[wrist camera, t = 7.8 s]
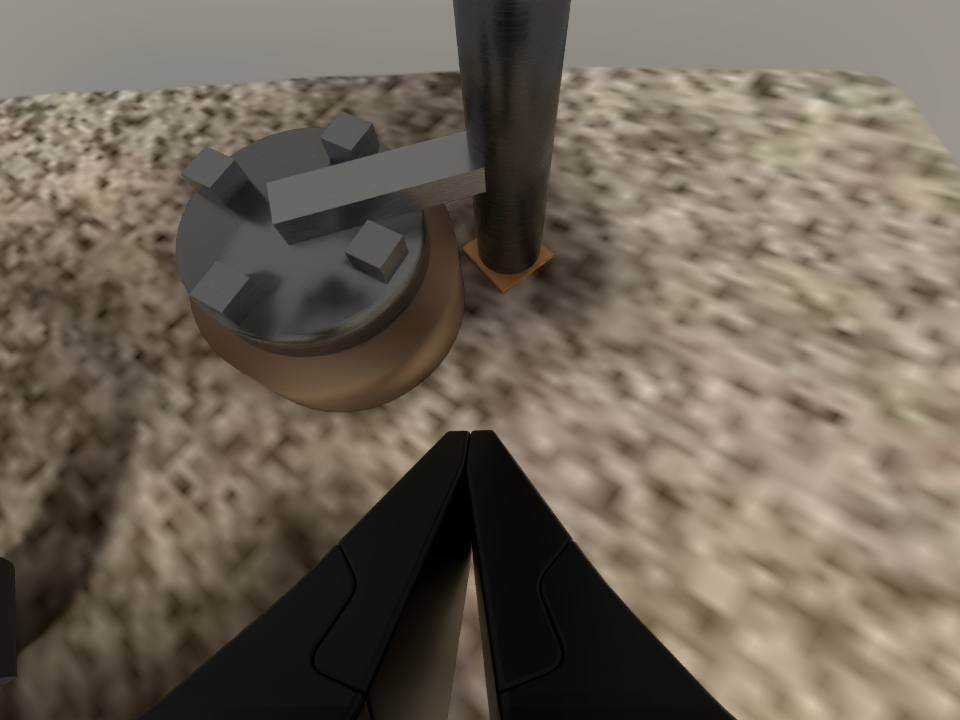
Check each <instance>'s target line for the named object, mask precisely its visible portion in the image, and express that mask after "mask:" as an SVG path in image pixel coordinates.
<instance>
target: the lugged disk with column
mask: <svg viewBox="0 0 960 720" xmlns="http://www.w3.org/2000/svg"><path fill="white" fill-rule="evenodd" d="M570 2H571V0H453V5H454V16H455V25H456V35H457V46H458V56H459V66H460V76H461V86H462V96H463V106H464V116H465V126H466V130H465V131H461V132H457V133H454V134H450V135H446V136H442V137H439V138H435V139H431V140H427V141H423V142H420V143H416V144H412V145H408V146H404V147H401V148H397V149H393V150H391V149H390V148H389V147H387V146H386V145H384V144H383V143H381V142H379V141H378V139H377V136H376V133H375V130H374V127H373V124H372V123H369V122H367V121H364V120H362V119H359V118H357V117H354V116H352V115H349V114H347V113H344V112H342V111H341V112H340V114H339V115H338V116H337V117H336V118H335V120H334V121H333V122H332V123H331V124H330V126H329V127H310V128H300V129H294V130H290V131H285V132H281V133H278V134H274V135H271V136H268V137H266V138H263V139H261V140H259V141H256V142H254V143H252V144H250V145H248V146H246V147H244V148H243V149H241V150H239V151H238V152H236V153H235V154H233V155H232V156H230V157H228V156H226V155H224V154H222V153H219V152H217V151H215V150H213V149H210V148H208V147H205V148H204V149H203V150H202V151H201V152H200V153H199V154H198V155H197V156H196V157H195V159H194V160H193V161H192V162H191V163H190V164H189V165H188V166H187V167H186V168H185V169H184V170H183V171H182V173H181V175H182V176H183V177H184V178H185V179H186V181H187V182H188V183H189V184H190V185H191V186H192V187H193V188H194V189H195V190H196V191H195V193H194V194H193V196H192V197H191V199H190V201H189V202H188V204H187V207H186V209H185V211H184V213H183V215H182V218H181V221H180V225H179V228H178V233H177V239H176V259H177V266H178V270H179V274H180V277H181V280H182V282H183V284H184V286H185V288H186V290H187V292H188V293H189V295H190V296H191V297H192V299H193V300H194V301H195V302H196V304H197V305H198V306H199V307H201V308H202V309H203V310H204V311H205V312H206V313H207V314H208V315H210V316H211V317H212V318H214V319H215V320H217V321H218V322H219V323H221V324H222V325H223V326H225V327H226V328H228V329H229V330H230V331H232V332H233V333H234V334H236V335H237V336H238V337H240V338H241V339H243V340H244V341H246V342H247V343H249V344H251V345H253V346H255V347H257V348H259V349H261V350H264V351H267V352H270V353H274V354H277V355H284V356H290V357H314V356H324V355H328V354H333V353H337V352H341V351H343V350H346V349H349V348H352V347H355V346H357V345H359V344H361V343H363V342H365V341H367V340H369V339H371V338H372V337H374V336H375V335H377V334H379V333H380V332H382V331H383V330H384V329H385V328H387V327H388V326H389V325H390V324H392V323H393V322H394V321H395V320H396V319H397V318H398V317H399V316H400V315H401V314H402V313H403V312H404V311H405V310H406V308H407V307H408V306H409V304H410V303H411V302H412V300H413V299H414V298H415V296H416V294H417V292H418V291H419V289H420V287H421V285H422V283H423V280H424V278H425V275H426V272H427V268H428V264H429V260H430V250H431V243H430V233H429V228H428V223H427V219H426V216H425V212H424V209H425V208H428V207H432V206H436V205H439V204H443V203H447V202H450V201H454V200H458V199H461V198H465V197H469V196H473V206H474V216H475V226H476V236H477V246H478V254H479V257H480V259H481V261H482V262H483V263H484V265H485V266H486V267H488V268H489V269H490V270H492V271H494V272H497V273H500V274H506V275H511V274H517V273H521V272H523V271H525V270H527V269H529V268H530V267H531V266H533V264H534V263H535V262H536V261H537V259H538V257H539V254H540V250H541V242H542V233H543V225H544V217H545V209H546V201H547V192H548V184H549V176H550V168H551V159H552V151H553V143H554V135H555V127H556V118H557V110H558V102H559V94H560V85H561V77H562V69H563V61H564V52H565V44H566V36H567V28H568V19H569V11H570Z"/></svg>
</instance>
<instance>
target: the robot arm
mask: <svg viewBox="0 0 960 720" xmlns="http://www.w3.org/2000/svg"><path fill="white" fill-rule="evenodd" d="M338 545H339V546H338ZM338 545H335V546H334V547H333V548H332V549H331V550H330V551H329V552H328V553H327V554H326V555H325V556H324V557H323V558H322V559H321V560H320V561H319V562H318V563H317V564H316V565H315V566H314V567H313V568H312V569H311V570H310V571H309V572H308V573H307V574H306V575H305V576H304V577H303V578H302V579H301V580H299V581H298V582H297V583H296V584H295V585H294V586H293V587H292V588H291V589H290V590H289V591H288V592H286V593H285V594H284V595H283V596H282V597H281V598H280V599H279V600H277V601H276V602H275V603H274V604H273V605H272V606H271V607H269V608H268V609H267V610H266V611H265V612H264V613H263V614H261V615H260V616H259V617H258V618H257V619H256V620H254V621H253V622H252V623H251V624H250V625H249V626H247V627H246V628H245V629H244V630H243V631H241V632H240V633H239V634H238V635H237V636H236V637H234V638H233V639H232V640H231V641H230V642H228V643H227V644H226V645H225V646H224V647H223V648H221V649H220V650H219V651H218V652H217V653H215V654H214V655H213V656H212V657H211V658H209V659H208V660H207V661H206V662H205V663H204V664H202V665H201V666H200V667H199V668H198V669H196V670H195V671H194V672H193V673H192V674H191V675H189V676H188V677H187V678H186V679H185V680H183V681H182V682H181V683H180V684H179V685H178V686H176V687H175V688H174V689H173V690H172V691H170V692H169V693H168V694H167V695H165V696H164V697H163V698H162V699H160V700H159V701H158V702H157V703H155V704H154V705H153V706H152V707H150V708H149V709H147V710H146V711H144V712H143V713H142V714H140V715H139V716H137V717H136V718H134V719H133V720H447V716H448V709H449V703H450V696H451V690H452V683H453V676H454V670H455V663H456V656H457V650H458V643H459V636H460V630H461V623H462V616H463V610H464V603H465V596H466V590H467V583H468V576H469V570H470V562H471V553H473V566H474V575H475V585H476V594H477V603H478V613H479V622H480V631H481V641H482V650H483V659H484V669H485V678H486V687H487V697H488V706H489V716H490V720H737V719H736V718H735V717H734V716H733V715H731V714H730V713H729V712H728V711H727V710H726V709H725V708H724V707H723V706H722V705H721V704H720V703H719V702H718V701H717V700H716V699H715V698H714V697H713V696H712V695H711V694H710V693H709V692H708V691H707V690H706V689H705V688H704V687H703V686H702V685H701V684H700V683H699V682H698V681H697V680H696V679H695V678H694V676H693V675H692V674H691V673H690V672H689V671H688V670H687V669H686V668H685V667H684V666H683V665H682V664H681V663H680V662H679V661H678V660H677V658H676V657H675V656H674V655H673V654H672V653H671V652H670V651H669V650H668V649H667V648H666V647H665V646H664V645H663V644H662V643H661V642H660V641H659V639H658V638H657V637H656V636H655V635H654V634H653V633H652V632H651V631H650V630H649V629H648V628H647V627H646V626H645V625H644V624H643V623H642V621H641V620H640V619H639V618H638V617H637V616H636V615H635V614H634V613H633V612H632V611H631V610H630V609H629V607H628V606H627V605H626V604H625V603H624V602H623V601H622V600H621V599H620V597H619V596H618V595H617V594H616V593H615V592H614V591H613V590H612V589H611V587H610V586H609V585H608V584H607V583H606V581H605V580H604V579H603V578H602V576H601V575H600V574H599V573H598V571H597V570H596V569H595V568H594V566H593V565H592V564H591V563H590V561H589V560H588V559H587V557H586V556H585V555H584V553H583V552H582V550H581V549H580V548H579V546H578V545H577V544H576V542H574V541H573V539H572V537H571V536H570V534H569V533H568V532H567V530H566V529H565V528H564V526H563V525H562V524H561V522H560V521H559V519H558V518H557V517H556V515H555V514H554V513H553V511H552V510H551V509H550V507H549V506H548V504H547V503H546V502H545V500H544V499H543V498H542V496H541V495H540V494H539V492H538V491H537V489H536V488H535V487H534V485H533V484H532V483H531V481H530V480H529V479H528V477H527V476H526V474H525V473H524V472H523V470H522V469H521V468H520V466H519V465H518V464H517V462H516V461H515V459H514V458H513V457H512V455H511V454H510V453H509V451H508V450H507V449H506V447H505V446H504V445H503V443H502V442H501V440H500V439H499V438H498V436H497V435H496V434H495V432H494V431H492V430H475V431H472V432H471V434H470V432H468V431H449V432H447V433H446V434H445V435H444V436H443V437H442V438H441V439H440V440H439V441H438V442H437V443H436V444H435V445H434V446H433V447H432V448H431V449H430V450H429V451H428V452H427V453H426V454H425V455H424V456H423V457H422V458H421V459H420V460H419V461H418V462H417V463H416V464H415V465H414V466H413V467H412V468H411V469H410V470H409V471H408V472H407V473H406V474H405V475H404V476H403V477H402V478H401V479H400V480H399V481H398V482H397V484H396V485H395V486H394V487H393V488H392V489H391V490H390V491H389V492H388V493H387V494H386V495H385V496H384V497H383V498H382V499H381V500H380V501H379V502H378V503H377V504H376V505H375V506H374V507H373V508H372V509H371V510H370V511H369V512H368V513H367V514H366V515H365V516H364V517H363V518H362V519H361V520H360V521H359V522H358V523H357V524H356V525H355V526H354V527H353V528H352V529H351V530H350V531H349V532H348V533H347V534H346V535H345V536H344V537H343V538H342V539H341V540H340V541H339V543H338Z"/></svg>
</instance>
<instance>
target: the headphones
mask: <svg viewBox="0 0 960 720" xmlns="http://www.w3.org/2000/svg"><path fill="white" fill-rule="evenodd" d="M15 678H17V655H16V607H15V569H14V566H13V564H12V563H11V562H9V561H8V560H6V559H3V558H1V557H0V687H1V686H3V685H6V684H8V683H9V682H11V681H13V680H14V679H15Z"/></svg>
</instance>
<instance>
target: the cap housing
mask: <svg viewBox="0 0 960 720" xmlns="http://www.w3.org/2000/svg"><path fill="white" fill-rule="evenodd" d="M424 212H425V216H426V219H427V223H428V228H429V233H430V243H431V250H430V260H429V264H428V268H427V272H426V275H425V278H424V280H423V283H422V285H421V287H420V289H419V291H418V292H417V294H416V296H415V298H414V299H413V300H412V302H411V303H410V304H409V306H408V307H407V308H406V310H405V311H404V312H403V313H402V314H401V315H400V316H399V317H398V318H397V319H396V320H395V321H394V322H393V323H392V324H390V325H389V326H388V327H387V328H385V329H384V330H383V331H382V332H380V333H379V334H377V335H375V336H374V337H372V338H371V339H369V340H367V341H365V342H363V343H361V344H359V345H357V346H355V347H352V348H349V349H346V350H343V351H341V352H337V353H333V354H328V355H324V356H314V357H290V356H284V355H277V354H274V353H270V352H267V351H264V350H261V349H259V348H257V347H255V346H253V345H251V344H249V343H247V342H246V341H244V340H243V339H241V338H240V337H238V336H237V335H236V334H234V333H233V332H232V331H230V330H229V329H228V328H226V327H225V326H223V325H222V324H221V323H219V322H218V321H217V320H215V319H214V318H212V317H211V316H210V315H208V314H207V313H206V312H205V311H204V310H203V309H202V308H201V307H199V306H198V305H197V304H196V302H195V301H194V300H193V299H192V297H191V296H190V301H191V308H192V311H193V314H194V318H195V321H196V323H197V325H198V327H199V329H200V331H201V333H202V335H203V337H204V338H205V339H206V341H207V342H208V343H209V345H210V346H211V348H212V349H213V350H214V351H215V352H216V353H217V354H219V355H220V356H221V357H222V358H223V359H224V360H225V361H227V362H228V363H229V364H231V365H232V366H234V367H235V368H237V369H238V370H240V371H242V372H243V373H245V374H246V375H248V376H250V377H251V378H253V379H255V380H256V381H258V382H260V383H261V384H263V385H265V386H266V387H268V388H269V389H271V390H273V391H274V392H276V393H278V394H279V395H281V396H283V397H284V398H286V399H288V400H290V401H292V402H294V403H296V404H299V405H302V406H305V407H308V408H311V409H316V410H322V411H330V412H348V411H359V410H363V409H368V408H373V407H376V406H379V405H382V404H385V403H387V402H390V401H392V400H394V399H396V398H398V397H400V396H402V395H404V394H406V393H407V392H409V391H410V390H412V389H413V388H415V387H416V386H418V385H419V384H420V383H421V382H423V381H424V380H425V379H426V378H427V377H428V376H430V375H431V373H432V372H433V371H434V370H435V369H436V368H437V367H438V366H439V365H440V364H441V362H442V361H443V359H444V358H445V357H446V355H447V354H448V352H449V351H450V349H451V347H452V345H453V343H454V341H455V339H456V337H457V334H458V332H459V329H460V326H461V322H462V318H463V313H464V302H465V295H464V284H463V278H462V272H461V266H460V260H459V255H458V249H457V243H456V237H455V233H454V228H453V224H452V221H451V218H450V216H449V213H448V211H447V209H446V207H445V205H444V204H439V205H436V206H432V207H428V208H425V209H424ZM462 251H463V252H464V253H465V254H466V255H467V256H468V257H469V258H470V259H471V261H472V262H473V263H474V264H475V265H476V266H477V267H478V268H479V269H480V270H481V271H482V272H483V273H484V275H485V276H486V277H487V278H488V279H489V280H490V281H491V282H492V283H493V284H494V285H495V286H496V287H497V289H498V290H499V291H500V292H501V293H502V294H503V293H505V292H506V291H508V290H509V289H510V288H512V287H513V286H514V285H516V284H517V283H518V282H520V281H521V280H523V279H524V278H525V277H527V276H528V275H529V274H531V273H532V272H533V271H535V270H536V269H538V268H539V267H540V266H542V265H543V264H544V263H546V262H547V261H548V260H550V259H551V258H553V253H552V252H551V251H550V250H549V249H548V248H547V247H546V246H545V245H544V244H543V243H542V242H541V250H540V254H539V257H538V259H537V261H536V262H535V263H534V264H533V266H531V267H530V268H529V269H527V270H525V271H523V272H521V273H517V274H511V275H506V274H500V273H497V272H494V271H492V270H490V269H489V268H488V267H486V266H485V265H484V263H483V262H482V261H481V259H480V257H479V254H478V246H477V237H476V238H475V239H473V240H472V241H471V242H469V243H468V244H466V245H465V246H463V247H462Z"/></svg>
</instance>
